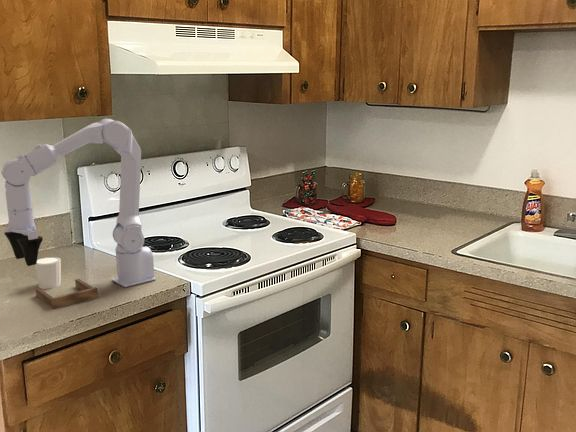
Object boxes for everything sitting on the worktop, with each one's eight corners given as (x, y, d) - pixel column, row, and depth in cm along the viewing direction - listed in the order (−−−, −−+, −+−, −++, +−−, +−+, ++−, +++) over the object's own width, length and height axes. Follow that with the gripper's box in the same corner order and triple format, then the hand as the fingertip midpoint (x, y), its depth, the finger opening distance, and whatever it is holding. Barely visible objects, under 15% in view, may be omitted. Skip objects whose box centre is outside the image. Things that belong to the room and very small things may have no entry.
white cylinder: (40, 291, 165) (37, 266, 163) (33, 284, 170) (30, 259, 169) (66, 285, 169) (64, 261, 167) (58, 279, 174) (56, 255, 173)
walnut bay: (79, 285, 169) (78, 276, 168) (98, 297, 160) (97, 288, 159) (36, 296, 161) (35, 286, 161) (53, 308, 153) (52, 299, 152)
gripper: (-7, 206, 157) (0, 258, 160) (13, 216, 146) (20, 271, 150) (22, 202, 161) (28, 252, 165) (43, 211, 151) (49, 265, 154)
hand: (26, 261), depth 157 cm, fingers open, 7 cm apart
